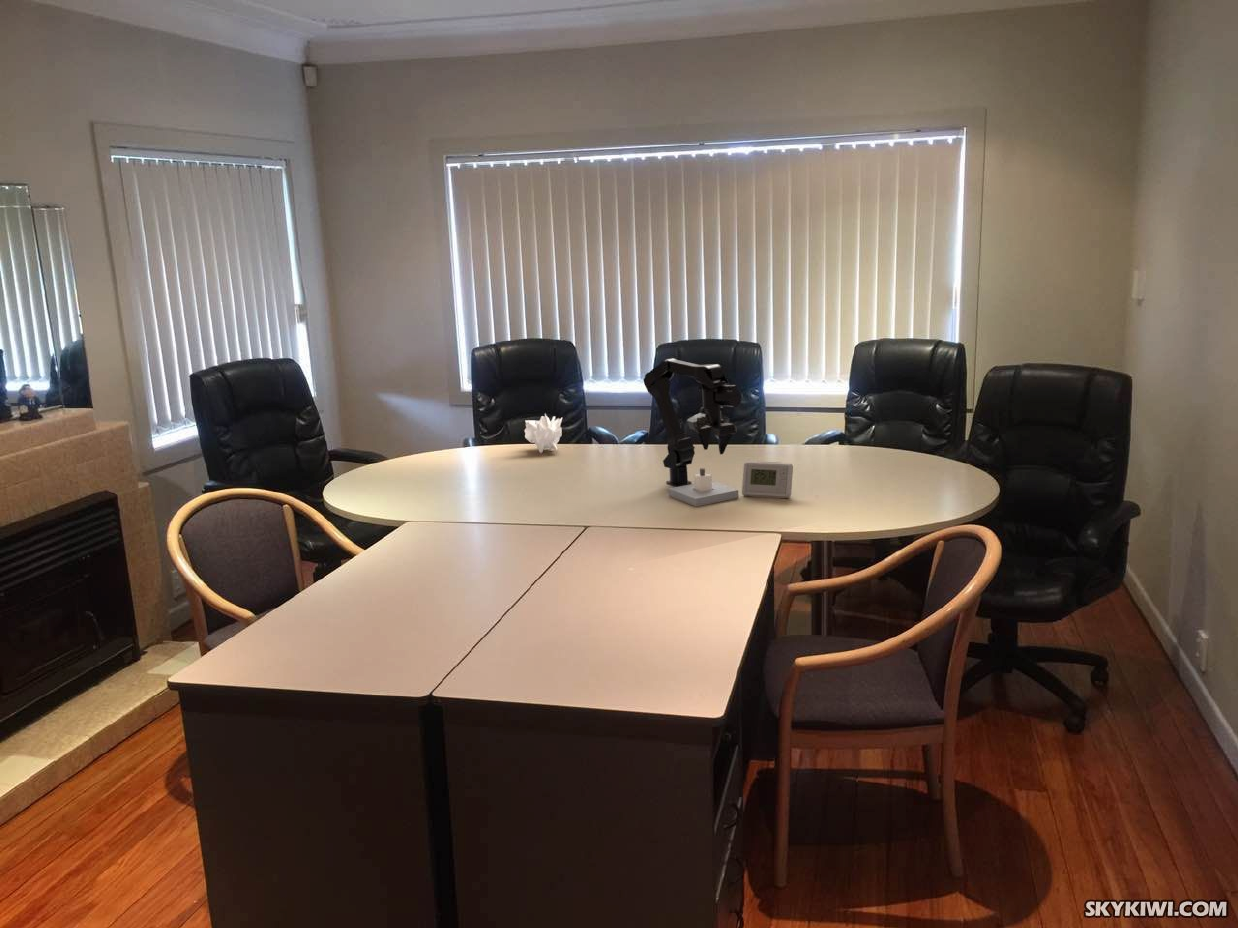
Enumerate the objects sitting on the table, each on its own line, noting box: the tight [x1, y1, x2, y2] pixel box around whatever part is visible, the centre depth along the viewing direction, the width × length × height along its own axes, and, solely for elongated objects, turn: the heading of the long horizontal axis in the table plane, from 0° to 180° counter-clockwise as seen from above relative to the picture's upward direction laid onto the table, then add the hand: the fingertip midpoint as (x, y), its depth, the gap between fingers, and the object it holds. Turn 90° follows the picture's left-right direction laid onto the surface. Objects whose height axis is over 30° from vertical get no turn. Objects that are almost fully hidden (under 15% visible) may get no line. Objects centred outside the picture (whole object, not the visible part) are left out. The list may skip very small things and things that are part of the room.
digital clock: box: [741, 461, 794, 499], centre depth 324 cm, size 16×9×11 cm, turn 54°
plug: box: [693, 467, 713, 492], centre depth 327 cm, size 4×4×9 cm
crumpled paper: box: [524, 413, 563, 454], centre depth 408 cm, size 20×17×15 cm
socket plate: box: [668, 480, 739, 507], centre depth 328 cm, size 16×16×2 cm
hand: (713, 451), depth 332 cm, fingers open, 9 cm apart
